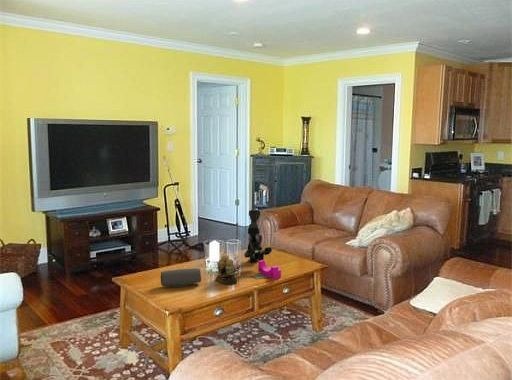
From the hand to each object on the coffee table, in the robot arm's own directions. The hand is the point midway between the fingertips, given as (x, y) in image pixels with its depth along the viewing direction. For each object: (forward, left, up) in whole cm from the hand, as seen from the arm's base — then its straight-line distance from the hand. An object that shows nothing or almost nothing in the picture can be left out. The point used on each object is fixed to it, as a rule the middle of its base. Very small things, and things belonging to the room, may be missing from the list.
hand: (262, 263), depth 293 cm
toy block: (+6, +1, -6) cm, 9 cm away
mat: (+6, -2, -6) cm, 9 cm away
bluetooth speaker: (-1, -56, -7) cm, 56 cm away
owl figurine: (+4, -28, -7) cm, 29 cm away
